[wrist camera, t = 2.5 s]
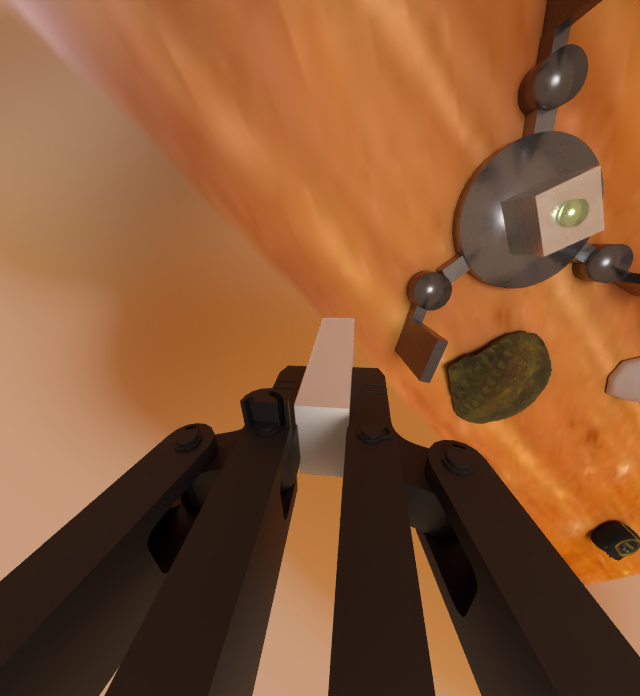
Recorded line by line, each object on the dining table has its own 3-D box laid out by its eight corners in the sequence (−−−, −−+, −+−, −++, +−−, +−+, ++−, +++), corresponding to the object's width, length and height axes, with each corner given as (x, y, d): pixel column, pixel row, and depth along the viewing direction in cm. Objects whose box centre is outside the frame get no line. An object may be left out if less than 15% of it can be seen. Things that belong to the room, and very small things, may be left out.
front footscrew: (414, 266, 35) (449, 275, 26) (445, 275, 35) (489, 287, 27) (384, 347, 39) (406, 377, 30) (413, 354, 39) (442, 385, 31)
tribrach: (376, 66, 27) (409, -9, 19) (635, -79, 25) (804, -241, 16) (464, 366, 40) (506, 399, 32) (640, 292, 38) (737, 307, 29)
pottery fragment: (547, 394, 44) (571, 410, 40) (458, 428, 45) (473, 447, 41) (535, 317, 39) (562, 326, 35) (436, 358, 40) (450, 372, 36)
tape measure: (582, 531, 56) (601, 551, 52) (613, 512, 54) (635, 531, 51) (598, 545, 58) (617, 565, 54) (629, 527, 56) (650, 546, 53)
